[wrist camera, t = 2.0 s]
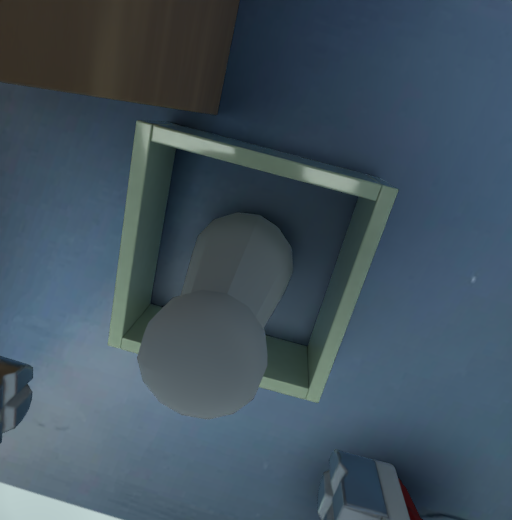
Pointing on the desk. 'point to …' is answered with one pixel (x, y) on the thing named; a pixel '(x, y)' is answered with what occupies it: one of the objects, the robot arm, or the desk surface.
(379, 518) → the robot arm
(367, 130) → the desk surface
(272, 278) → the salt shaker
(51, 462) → the desk surface
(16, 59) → the block
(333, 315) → the holder
